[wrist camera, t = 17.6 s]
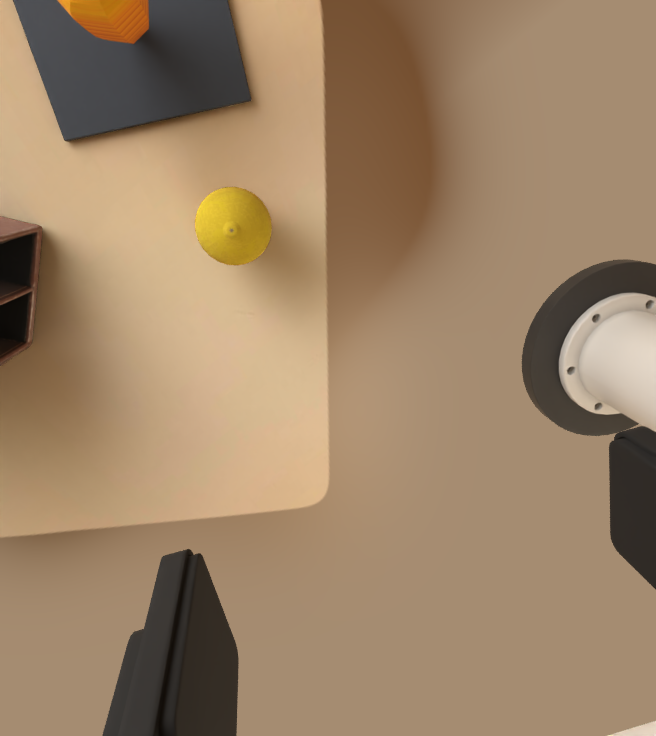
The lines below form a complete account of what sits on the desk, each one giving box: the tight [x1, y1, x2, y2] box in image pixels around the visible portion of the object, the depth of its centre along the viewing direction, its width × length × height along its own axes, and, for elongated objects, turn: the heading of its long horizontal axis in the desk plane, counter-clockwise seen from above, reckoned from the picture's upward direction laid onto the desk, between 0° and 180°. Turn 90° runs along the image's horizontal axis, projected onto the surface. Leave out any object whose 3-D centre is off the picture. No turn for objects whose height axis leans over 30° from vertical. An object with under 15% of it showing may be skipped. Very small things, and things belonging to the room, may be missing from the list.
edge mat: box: [13, 0, 251, 141], centre depth 35 cm, size 14×12×1 cm
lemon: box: [195, 187, 272, 265], centre depth 37 cm, size 6×6×8 cm
